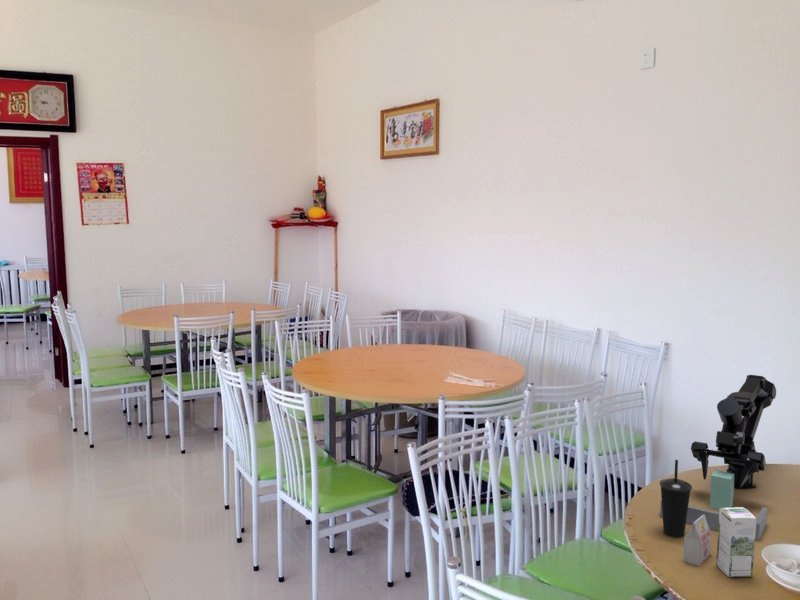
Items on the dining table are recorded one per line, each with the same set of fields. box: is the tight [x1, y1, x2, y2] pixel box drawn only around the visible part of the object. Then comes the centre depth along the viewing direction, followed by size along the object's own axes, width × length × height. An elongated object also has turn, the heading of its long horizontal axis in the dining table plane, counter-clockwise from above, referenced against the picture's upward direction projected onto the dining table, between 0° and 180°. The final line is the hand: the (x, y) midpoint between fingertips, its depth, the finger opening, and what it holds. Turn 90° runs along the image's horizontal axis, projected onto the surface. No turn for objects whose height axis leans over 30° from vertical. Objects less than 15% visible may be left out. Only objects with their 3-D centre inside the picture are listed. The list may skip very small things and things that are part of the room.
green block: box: [709, 469, 735, 511], centre depth 188 cm, size 5×5×10 cm
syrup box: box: [715, 506, 757, 578], centre depth 154 cm, size 6×6×14 cm
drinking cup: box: [659, 459, 693, 539], centre depth 172 cm, size 8×8×20 cm
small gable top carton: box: [683, 515, 712, 567], centre depth 161 cm, size 4×7×10 cm, turn 136°
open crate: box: [659, 499, 768, 542], centre depth 180 cm, size 12×24×5 cm, turn 53°
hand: (722, 482), depth 187 cm, fingers open, 9 cm apart
